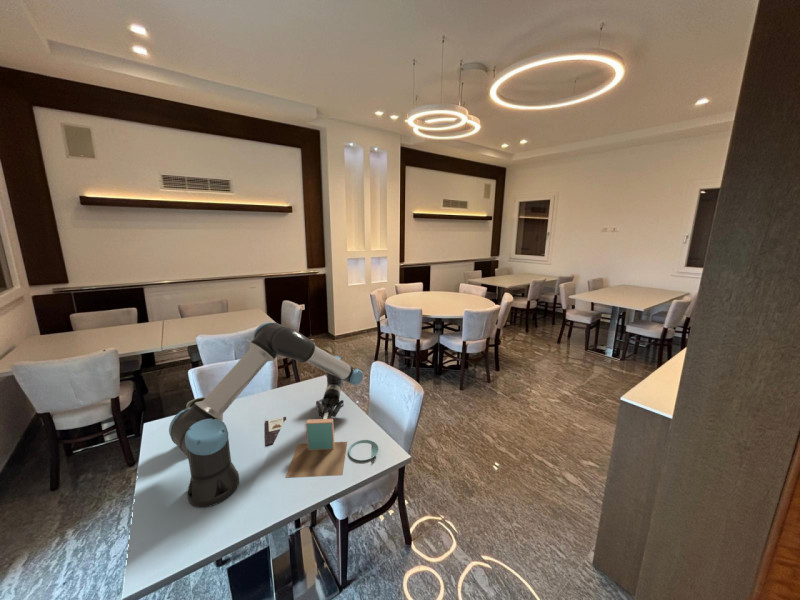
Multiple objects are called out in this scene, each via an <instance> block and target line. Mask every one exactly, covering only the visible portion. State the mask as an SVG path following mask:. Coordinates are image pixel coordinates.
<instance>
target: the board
mask: <svg viewBox="0 0 800 600" xmlns="http://www.w3.org/2000/svg"><path fill="white" fill-rule="evenodd" d="M296 445H297V446H296V448H295V450H294V453H293V456H292V458H291V461H290V463H289V466H288V469H287V472H286V475H285V479H289V478H291V479H292V478H309V477H329V476H330V477H331V476H333V477H334V476H343V474H344V466H345V461H346V453H347V446H348V441H334V449H326V450H308V442H306V443H297V444H296Z"/></svg>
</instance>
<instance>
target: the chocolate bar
mask: <svg viewBox="0 0 800 600" xmlns="http://www.w3.org/2000/svg"><path fill="white" fill-rule="evenodd" d="M285 421H287V416H282V417H279V418H274V419H269V420H265V421H264V423H265V424H264V425H265V428H264V429H265V446H266V447H268V446H272V445H274V443H275V442H276V440H277V438H278V435H279V433H280V431H281V429H282V427H283V425H284V423H285Z"/></svg>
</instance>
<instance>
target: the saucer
mask: <svg viewBox="0 0 800 600" xmlns="http://www.w3.org/2000/svg"><path fill="white" fill-rule="evenodd" d="M360 444H369V445H371V453H370V458H367V459H356V458H354V457H353V456H352V453H351V451H352V449H353V448H354V447H355V446H358V445H360ZM347 451H348V455H349V456H350V458H352V459H353V460H356V461H359V462H365V461H370V460H371V459H373V458H374V457H375V456H376V455H378V452H379V451H380V450H379V445H378V444H377V443H376V441H375V442H374V441H373V440H369V439H362V440H358V441H356V442H354V443H352V444H351V445H350V446H349V448H348V449H347Z"/></svg>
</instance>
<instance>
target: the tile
mask: <svg viewBox="0 0 800 600" xmlns="http://www.w3.org/2000/svg"><path fill="white" fill-rule="evenodd" d="M305 425H306V426H305V427H306V439H307V443H308V450H326V449H334V442H335V432H334V431H335V430H334V428H335V427H334V426H335V425H334V418H331V419H321V418H317V419H315V418H314V419H307V420H306V424H305Z"/></svg>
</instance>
